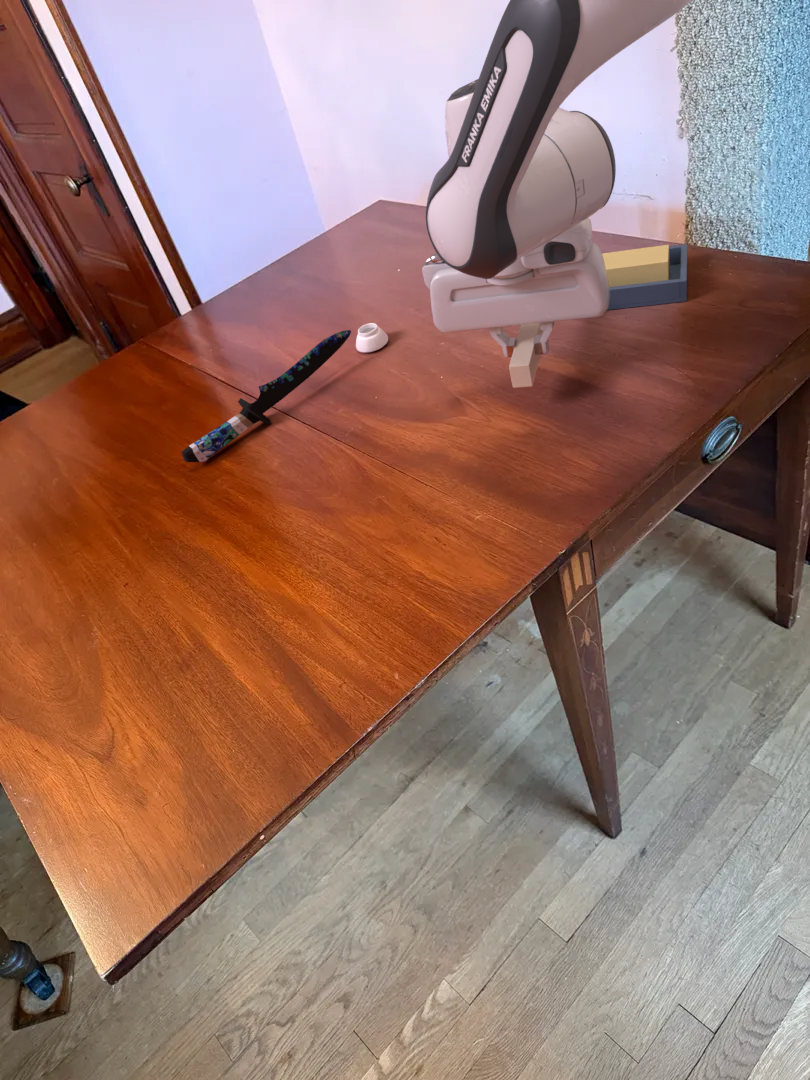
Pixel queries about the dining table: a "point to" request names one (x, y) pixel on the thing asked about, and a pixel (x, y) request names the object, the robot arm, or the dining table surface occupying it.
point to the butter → (637, 265)
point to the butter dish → (655, 286)
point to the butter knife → (525, 356)
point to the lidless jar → (370, 338)
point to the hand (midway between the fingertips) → (526, 353)
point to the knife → (264, 400)
